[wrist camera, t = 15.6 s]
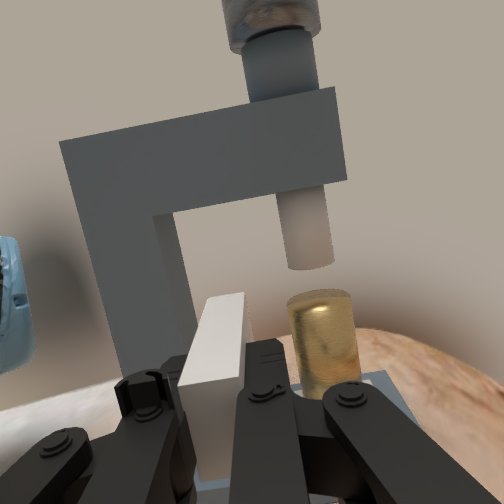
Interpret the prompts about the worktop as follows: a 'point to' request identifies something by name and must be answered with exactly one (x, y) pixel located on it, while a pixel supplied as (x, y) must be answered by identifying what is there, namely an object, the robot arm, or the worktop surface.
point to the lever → (267, 19)
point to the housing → (324, 340)
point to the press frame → (208, 202)
